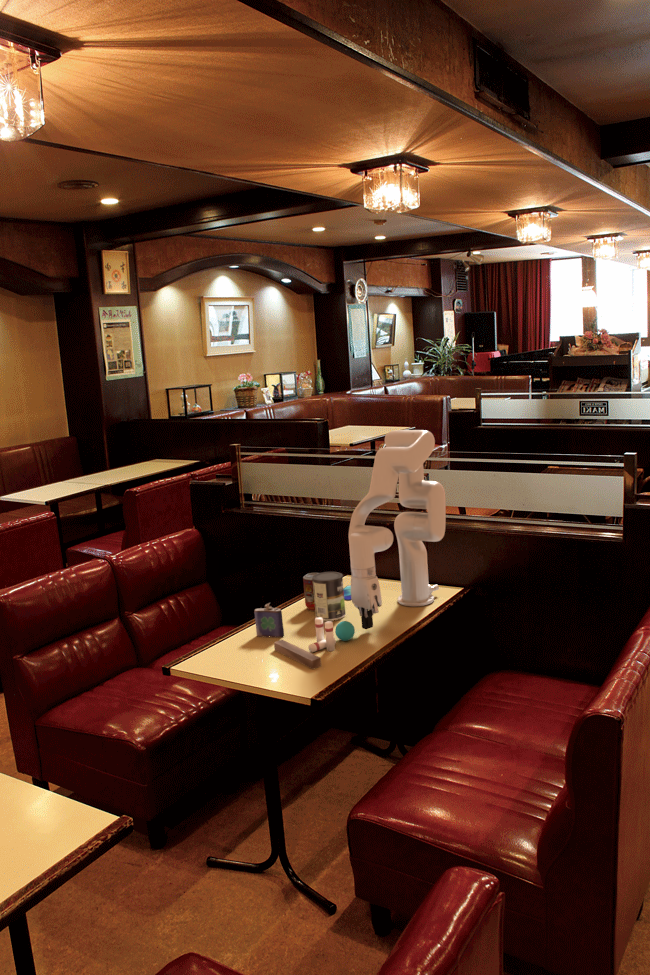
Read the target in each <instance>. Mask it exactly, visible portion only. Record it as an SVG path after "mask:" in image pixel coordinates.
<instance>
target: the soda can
mask: <svg viewBox="0 0 650 975" xmlns="http://www.w3.org/2000/svg"><path fill="white" fill-rule="evenodd" d="M318 573H319V572H308V573H307V574H305V575H304V576H303V577H302V581H303V592H304V605H305V607H306V608H307V610H308V611H309V610H311V611H310V612H316V611H315V600H314V589H313V580H312V576H314V575H316V574H318Z"/></svg>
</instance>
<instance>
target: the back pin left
mask: <svg viewBox="0 0 650 975" xmlns="http://www.w3.org/2000/svg"><path fill="white" fill-rule="evenodd" d="M324 635H325V639H326V646H327V647H326V651H327V652H334V651H335V650H336V647H335V645H336V644H335V645H334V638H335V637H334V635H335V634H334V623H333V621H324Z"/></svg>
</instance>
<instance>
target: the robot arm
mask: <svg viewBox="0 0 650 975" xmlns="http://www.w3.org/2000/svg"><path fill="white" fill-rule="evenodd" d="M435 443H436V440H435V437H434V434H433V433H432V432H431V431H429V430H426V429H425V430H424V429H396V430H391V431H388V432H387V433H386V434H385V436H384V444H385V446H384V447H381V448H380V449H378V450H377V452H376V454H375V457H374V461H373V462H374V463H373V466H372V467H373V468H372V473H371V479H370V486H369V490H368V491H367V492H368V493H367V494H366V495H365V496H364V497H363V498H362V499H361V500H360V501H359V503H358V504H357V505H356V507H355V508H354V510H353V512H352V514H351V518H350V523H349V527H348V544H349V556H350V557H349V559H350V572H351V577H350V585H351V599H352V600H351V603H352V604H353V606H354V607H355V608H356V609H358V610H357V611H359V616H360V619H361V628H362V629H364V630H369V629H372V628H373V627H374V623H373V622H374V621H373V619H374V618H373V616H374V615H375V614H379V608H380V607H382V606H383V605H382V604H383V602H382V593H381V586H380V582H379V579H378V576H377V574H376V573H377V572H376V571H377V570H376V560H375V554H376V553H378V552H384V551H386V550H388V549H389V548H390V547H392V545H393V542H394V534H393V532H392V531H391V529H389V528H387V527H386V526H385V527H384V526H377V525H376V526H375V525H365V523H366V520H367V518H368V516H369V514H370V513H371V512H372V511H373V510H374V509H376V508H378V507H379V506H382V505H384V504H386V503H389V502H390V501H392V500H394V499H395V498H396V493H397V487H398V500H399V503H400V505H401V506H402V507H405V508H409V509H419V510H420V509H422V510H426V511H427V512H421V511H420V512H417V511H403V512H401V513H399V514H398V515H397V516H396V517H395V519H394V524H393V527H394V533H395V536H396V540H397V546H398V554H399V555H398V557H399V571H400V572H399V573H400V587H401V594H400V595H399V596H398V597H397V602H398V604H400V605H401V606H404V607H423V606H427V605H430V604H433V602H434V601H435V597H434V595H433V592H435V591H438V590H439V589H440V587H439V585H438V584H434V585H430V584H429V583H430V582H429V569H428V568H429V566H428V551H427V549H426V546H425V544H424V542H433V543H435V542H440V541H442V539H443V538H444V537H445V534H446V533H445V532H446V521H447V520H446V519H447V518H446V517H447V516H446V515H447V514H446V506H447V505H446V501H447V500H446V491H445V488H444V486H443V484H441V483H440V482H439V481H435V480H425V473H424V471H425V470H424V468H425V467H424V463H425V462H426V461H427V459H428V458H429V457H431V456H430V455H431V454H432V453H433V451H434V449H435V446H436V445H435Z"/></svg>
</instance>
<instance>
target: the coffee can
mask: <svg viewBox="0 0 650 975" xmlns="http://www.w3.org/2000/svg"><path fill="white" fill-rule="evenodd" d="M317 573H318V574H316V575H314V576H312V580H313V589H314V600H315V611H314V612H315V618H318V617H321V618H323V622H327V621H331V622H333V621H334V620H335V621H339V620H342V619H343V617H344V618H345V617H346V616H345V615H346V603H345V600H344V590H343V589H344V580H343V577H344V574H343V573H341V572H337V571H323V572H317ZM341 618H342V619H341ZM338 619H339V620H338Z"/></svg>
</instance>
